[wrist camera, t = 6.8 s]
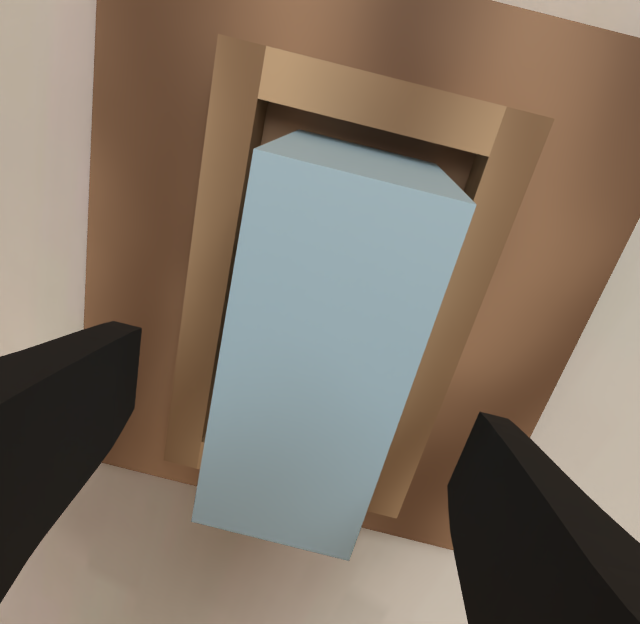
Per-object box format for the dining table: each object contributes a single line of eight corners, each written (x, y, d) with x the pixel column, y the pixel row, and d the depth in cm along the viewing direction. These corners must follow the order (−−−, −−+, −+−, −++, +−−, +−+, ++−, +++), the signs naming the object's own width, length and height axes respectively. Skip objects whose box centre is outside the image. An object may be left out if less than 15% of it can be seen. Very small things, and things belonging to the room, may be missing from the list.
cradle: (91, 440, 21) (56, 483, 18) (118, -86, 13) (67, -123, 11) (467, 534, 21) (478, 588, 18) (695, 60, 13) (761, 53, 11)
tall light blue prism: (246, 391, 18) (191, 521, 12) (299, 129, 14) (253, 149, 9) (356, 418, 18) (349, 561, 12) (435, 163, 14) (476, 205, 9)
